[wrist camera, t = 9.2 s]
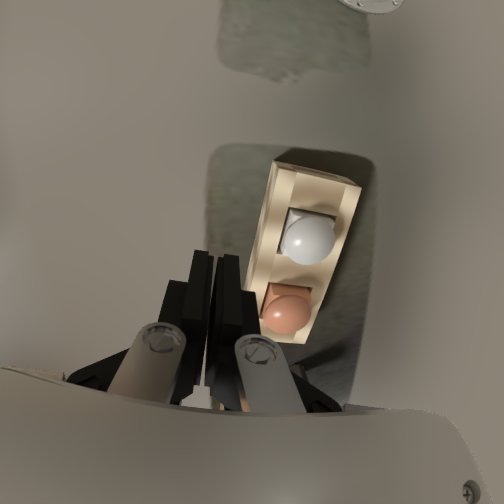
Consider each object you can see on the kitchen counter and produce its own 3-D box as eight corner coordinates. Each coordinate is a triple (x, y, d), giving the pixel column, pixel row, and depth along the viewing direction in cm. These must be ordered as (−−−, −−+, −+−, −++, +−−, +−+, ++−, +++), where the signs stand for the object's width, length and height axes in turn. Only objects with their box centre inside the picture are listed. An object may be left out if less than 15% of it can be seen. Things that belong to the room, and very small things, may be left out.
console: (272, 160, 36) (279, 168, 32) (346, 177, 38) (361, 188, 33) (237, 315, 46) (238, 338, 42) (298, 322, 48) (304, 343, 44)
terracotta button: (266, 270, 41) (271, 295, 36) (307, 275, 42) (317, 300, 36) (257, 304, 43) (260, 331, 38) (295, 309, 44) (303, 335, 39)
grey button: (283, 197, 37) (292, 213, 32) (326, 206, 38) (341, 223, 33) (272, 239, 40) (279, 261, 34) (314, 246, 40) (326, 268, 35)
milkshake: (312, 358, 52) (324, 401, 44) (303, 376, 55) (313, 418, 46) (288, 357, 52) (297, 401, 43) (280, 376, 54) (288, 419, 45)
